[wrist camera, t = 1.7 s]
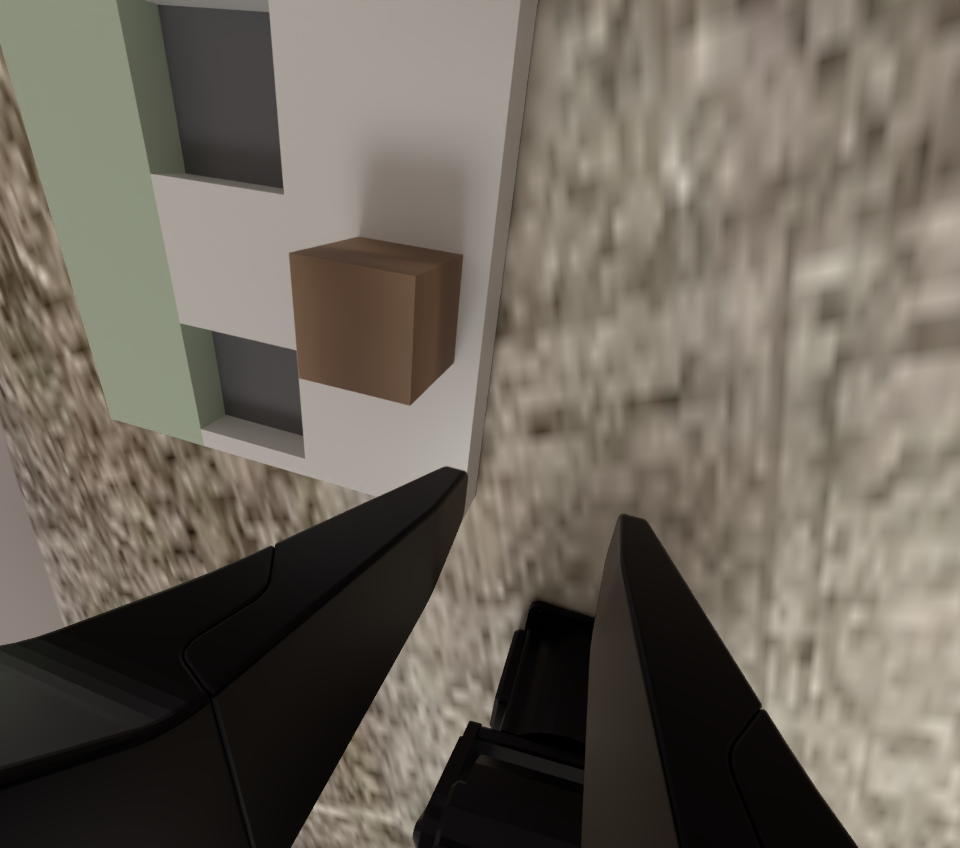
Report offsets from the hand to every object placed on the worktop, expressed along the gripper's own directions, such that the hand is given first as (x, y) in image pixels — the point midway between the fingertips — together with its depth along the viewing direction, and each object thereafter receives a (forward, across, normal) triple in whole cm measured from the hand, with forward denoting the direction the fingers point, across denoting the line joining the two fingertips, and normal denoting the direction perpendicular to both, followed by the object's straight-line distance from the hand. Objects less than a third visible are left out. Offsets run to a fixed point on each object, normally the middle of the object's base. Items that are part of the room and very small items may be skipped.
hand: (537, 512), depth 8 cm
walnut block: (+10, +7, 0) cm, 12 cm away
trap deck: (+12, +14, 0) cm, 18 cm away
